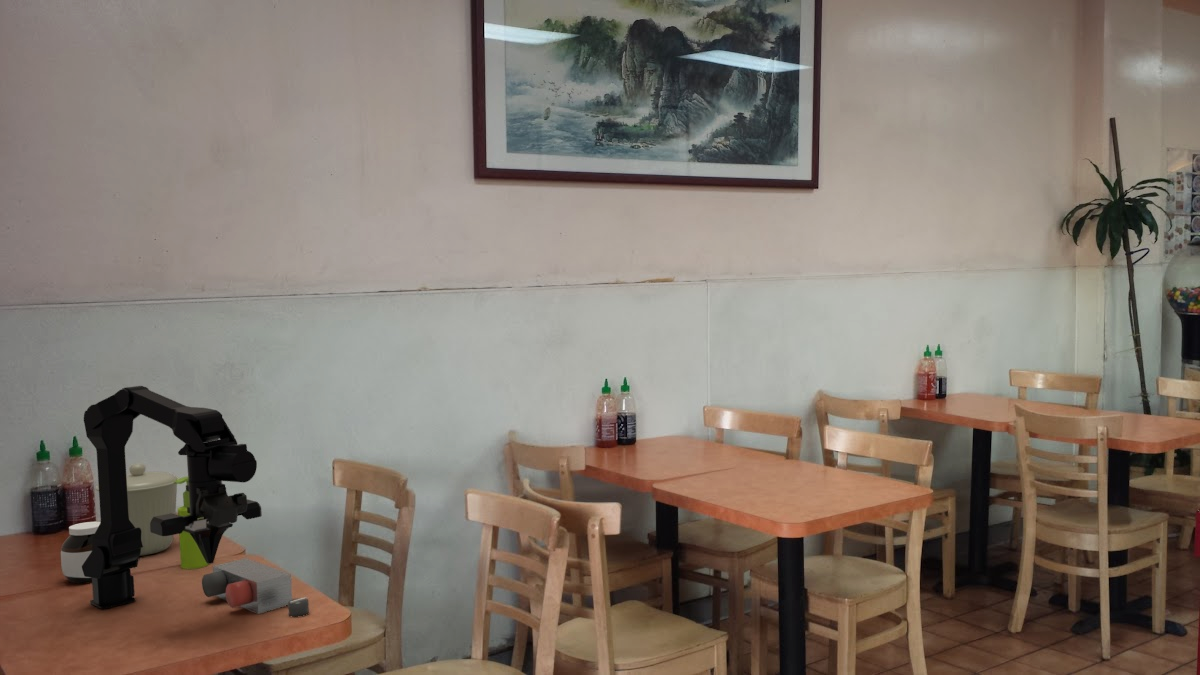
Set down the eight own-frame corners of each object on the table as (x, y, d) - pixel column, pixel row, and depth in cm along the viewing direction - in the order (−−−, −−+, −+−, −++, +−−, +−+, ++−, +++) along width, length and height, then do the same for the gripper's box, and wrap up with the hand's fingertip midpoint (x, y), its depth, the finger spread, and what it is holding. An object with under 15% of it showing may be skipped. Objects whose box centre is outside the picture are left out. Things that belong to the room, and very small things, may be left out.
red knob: (237, 609, 186) (235, 586, 185) (226, 605, 189) (225, 582, 188) (295, 593, 194) (294, 571, 194) (284, 589, 197) (283, 567, 197)
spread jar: (77, 587, 208) (74, 532, 207) (47, 580, 214) (44, 527, 213) (130, 572, 218) (127, 519, 217) (100, 566, 224) (97, 514, 223)
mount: (258, 614, 187) (256, 582, 186) (214, 595, 199) (212, 566, 199) (292, 604, 192) (290, 573, 191) (247, 587, 204) (245, 558, 204)
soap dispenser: (171, 569, 219) (166, 479, 218) (195, 560, 226) (190, 473, 225) (192, 571, 217) (186, 480, 216) (215, 562, 223) (210, 474, 222)
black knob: (212, 599, 192) (211, 576, 192) (202, 594, 195) (201, 572, 195) (270, 584, 201) (269, 562, 201) (259, 580, 204) (258, 559, 204)
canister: (199, 546, 239) (194, 459, 237) (129, 565, 223) (123, 472, 222) (154, 538, 248) (149, 454, 247) (83, 556, 233) (78, 466, 232)
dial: (295, 618, 184) (294, 603, 183) (285, 614, 186) (284, 600, 186) (312, 613, 186) (311, 599, 186) (302, 609, 189) (302, 595, 188)
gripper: (173, 493, 171) (178, 583, 171) (273, 475, 184) (278, 559, 185) (146, 486, 178) (151, 572, 179) (245, 469, 192) (249, 549, 193)
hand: (209, 563), depth 184 cm, fingers closed
